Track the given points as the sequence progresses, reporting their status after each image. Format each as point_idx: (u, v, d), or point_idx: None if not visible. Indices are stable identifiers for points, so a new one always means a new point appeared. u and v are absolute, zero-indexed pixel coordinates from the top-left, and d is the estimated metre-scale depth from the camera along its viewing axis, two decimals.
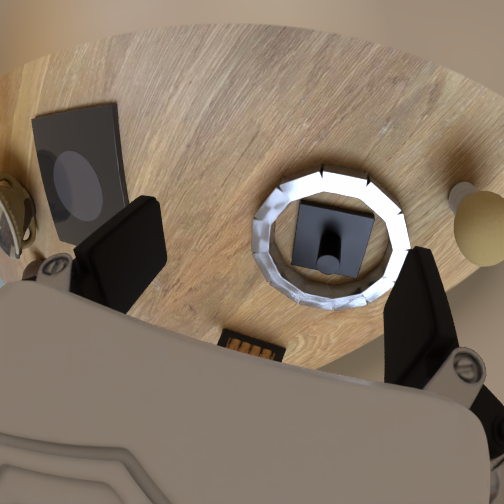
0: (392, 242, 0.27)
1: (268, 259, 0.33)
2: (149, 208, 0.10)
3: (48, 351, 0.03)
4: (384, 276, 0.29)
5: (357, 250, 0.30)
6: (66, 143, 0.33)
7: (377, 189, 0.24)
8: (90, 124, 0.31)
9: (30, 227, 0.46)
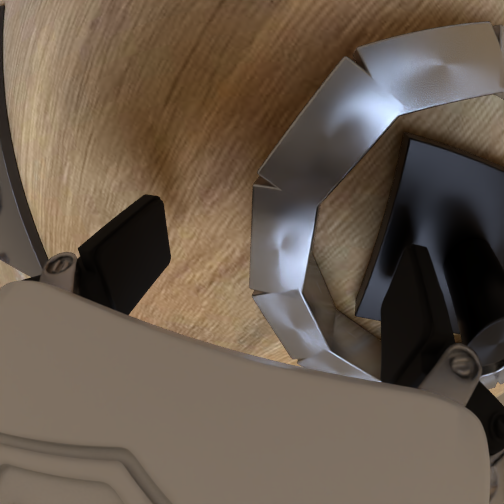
0: None
1: (300, 312, 0.11)
2: (153, 207, 0.10)
3: (48, 351, 0.03)
4: None
5: None
6: None
7: None
8: None
9: None
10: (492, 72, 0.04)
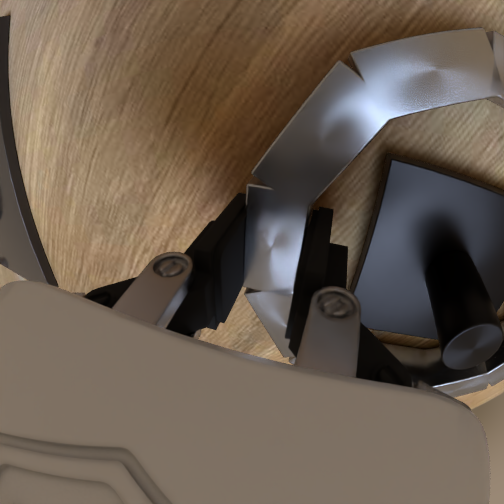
0: None
1: None
2: None
3: (48, 351, 0.03)
4: None
5: (497, 290, 0.09)
6: None
7: None
8: None
9: None
10: (484, 77, 0.04)
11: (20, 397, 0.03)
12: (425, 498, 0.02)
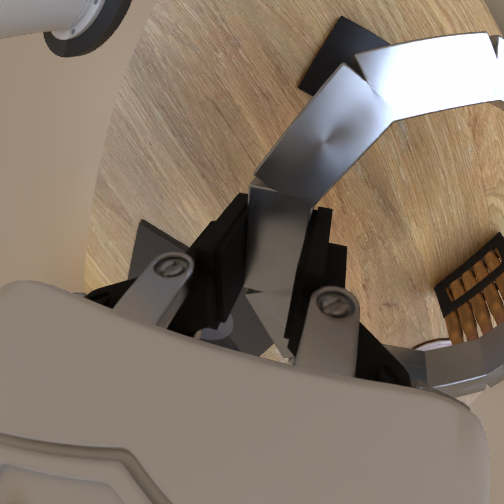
0: None
1: None
2: None
3: (48, 351, 0.03)
4: None
5: None
6: None
7: None
8: (147, 254, 0.38)
9: None
10: (487, 81, 0.04)
11: (20, 397, 0.03)
12: (425, 498, 0.02)
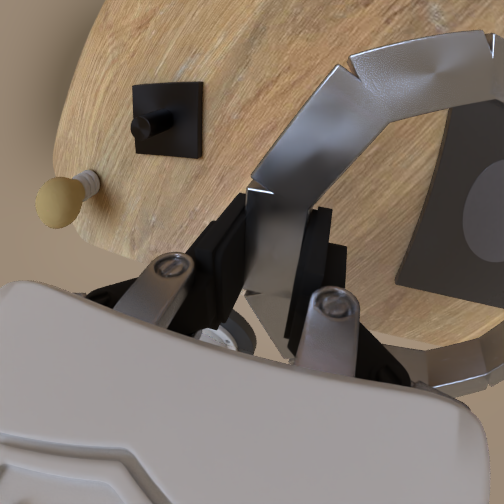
0: None
1: None
2: None
3: (48, 351, 0.03)
4: None
5: None
6: (484, 269, 0.25)
7: None
8: (435, 276, 0.27)
9: None
10: (483, 80, 0.04)
11: (20, 397, 0.03)
12: (425, 498, 0.02)
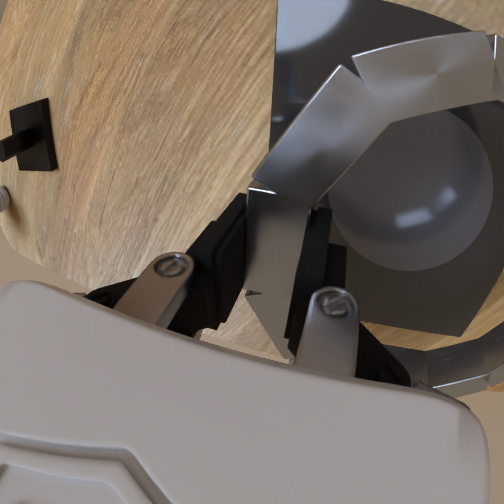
0: None
1: None
2: None
3: (48, 351, 0.03)
4: None
5: None
6: (392, 281, 0.20)
7: None
8: None
9: None
10: (485, 81, 0.04)
11: (20, 397, 0.03)
12: (425, 498, 0.02)
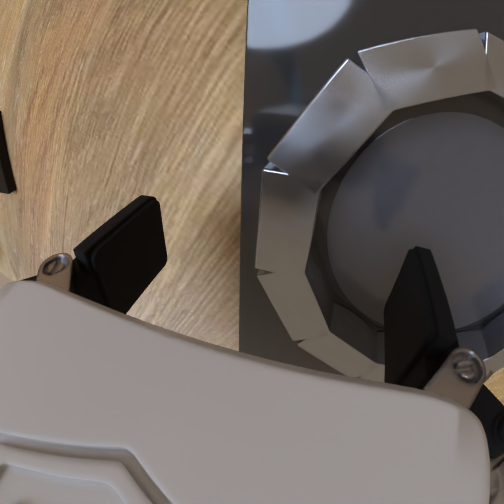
0: None
1: (301, 292, 0.12)
2: (149, 208, 0.10)
3: (48, 351, 0.03)
4: None
5: None
6: None
7: None
8: (302, 349, 0.18)
9: None
10: (477, 73, 0.05)
11: (20, 397, 0.03)
12: (425, 498, 0.02)
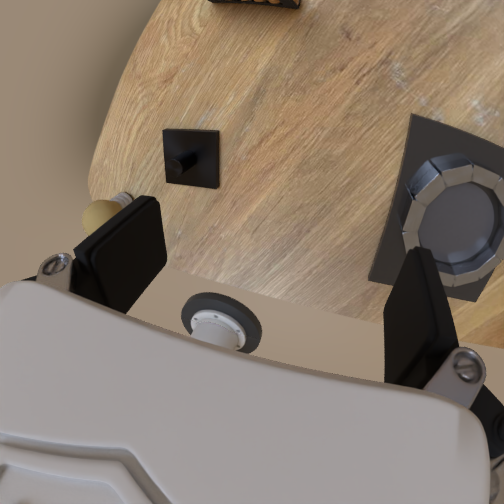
0: None
1: (415, 238, 0.31)
2: (149, 208, 0.10)
3: (48, 351, 0.03)
4: (495, 255, 0.28)
5: (169, 155, 0.38)
6: None
7: None
8: None
9: None
10: (469, 177, 0.25)
11: (20, 397, 0.03)
12: (425, 498, 0.02)
